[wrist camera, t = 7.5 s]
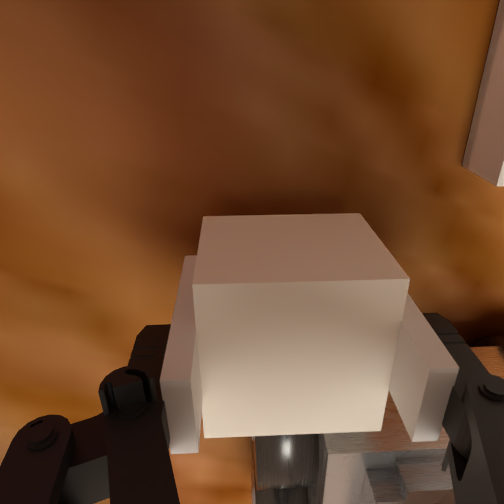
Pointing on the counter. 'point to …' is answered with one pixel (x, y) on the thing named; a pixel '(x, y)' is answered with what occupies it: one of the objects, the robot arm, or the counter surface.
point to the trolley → (360, 460)
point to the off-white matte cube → (295, 324)
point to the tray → (489, 113)
